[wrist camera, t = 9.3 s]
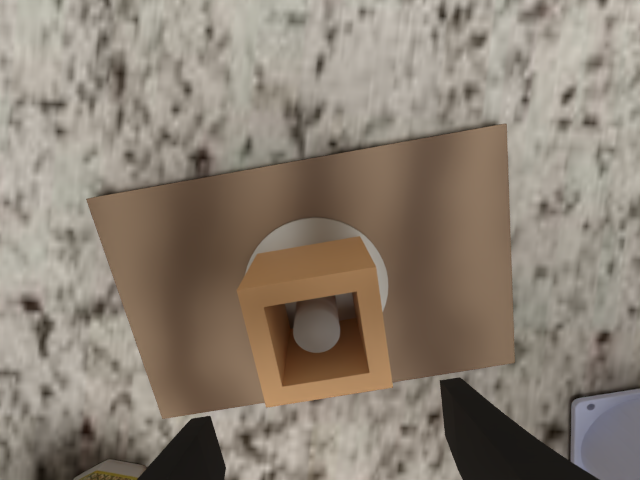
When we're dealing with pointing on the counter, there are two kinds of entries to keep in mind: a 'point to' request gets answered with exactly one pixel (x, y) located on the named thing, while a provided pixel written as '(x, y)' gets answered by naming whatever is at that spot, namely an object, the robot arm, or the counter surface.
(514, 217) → the counter surface
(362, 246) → the collar
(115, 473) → the ceramic cup
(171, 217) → the post board
